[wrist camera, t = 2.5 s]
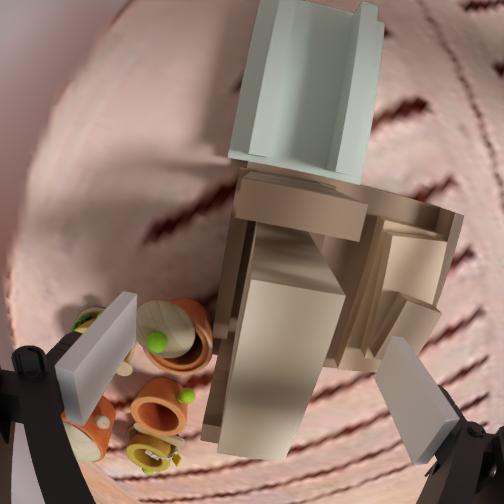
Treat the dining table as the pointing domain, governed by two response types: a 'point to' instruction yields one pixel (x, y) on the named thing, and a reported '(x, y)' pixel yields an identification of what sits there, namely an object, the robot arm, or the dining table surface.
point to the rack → (340, 265)
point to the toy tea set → (151, 385)
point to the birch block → (278, 342)
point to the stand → (309, 88)
